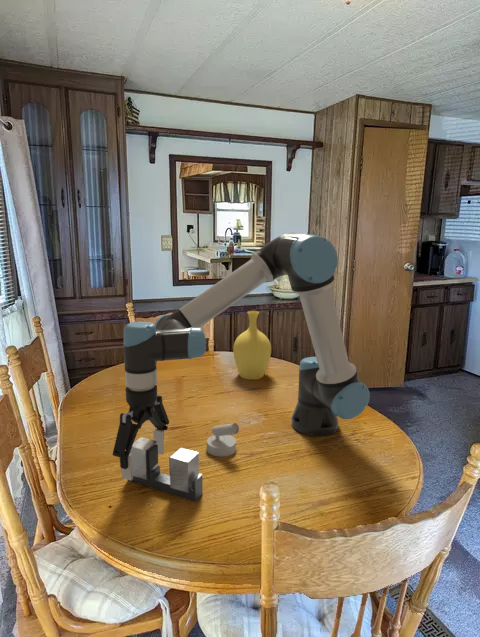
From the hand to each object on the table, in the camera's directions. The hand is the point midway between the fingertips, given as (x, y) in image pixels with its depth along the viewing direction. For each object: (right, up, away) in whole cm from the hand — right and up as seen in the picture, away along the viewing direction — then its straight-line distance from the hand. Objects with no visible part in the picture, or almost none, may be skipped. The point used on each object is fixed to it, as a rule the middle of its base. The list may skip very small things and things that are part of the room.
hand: (144, 465), depth 111 cm
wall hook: (+19, -1, +17) cm, 26 cm away
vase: (+29, +12, +78) cm, 84 cm away
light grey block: (0, -2, 0) cm, 2 cm away
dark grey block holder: (+5, -5, -1) cm, 8 cm away
